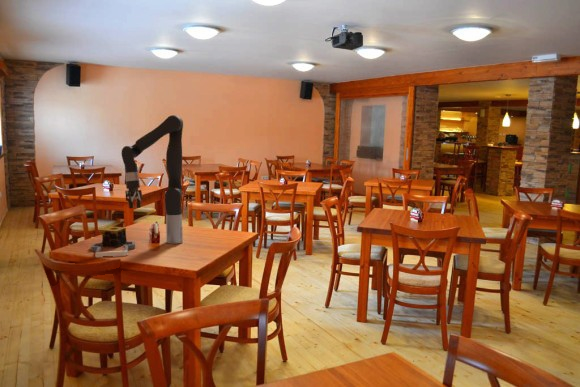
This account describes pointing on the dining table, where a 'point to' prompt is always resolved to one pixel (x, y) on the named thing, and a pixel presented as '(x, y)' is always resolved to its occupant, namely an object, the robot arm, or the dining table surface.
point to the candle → (114, 237)
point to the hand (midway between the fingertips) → (135, 207)
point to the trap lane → (98, 247)
